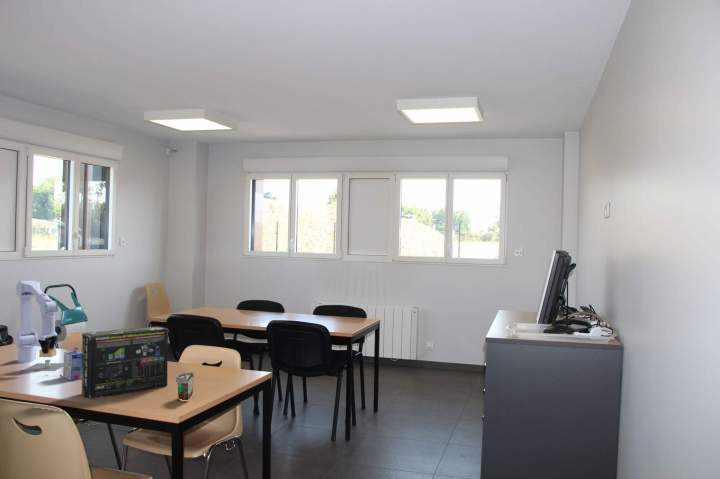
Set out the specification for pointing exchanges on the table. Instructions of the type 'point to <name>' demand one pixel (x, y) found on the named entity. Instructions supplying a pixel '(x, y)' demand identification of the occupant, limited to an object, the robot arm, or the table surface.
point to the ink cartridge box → (72, 365)
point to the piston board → (41, 367)
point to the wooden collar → (50, 353)
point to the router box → (124, 361)
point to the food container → (185, 385)
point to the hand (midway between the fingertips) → (47, 352)
